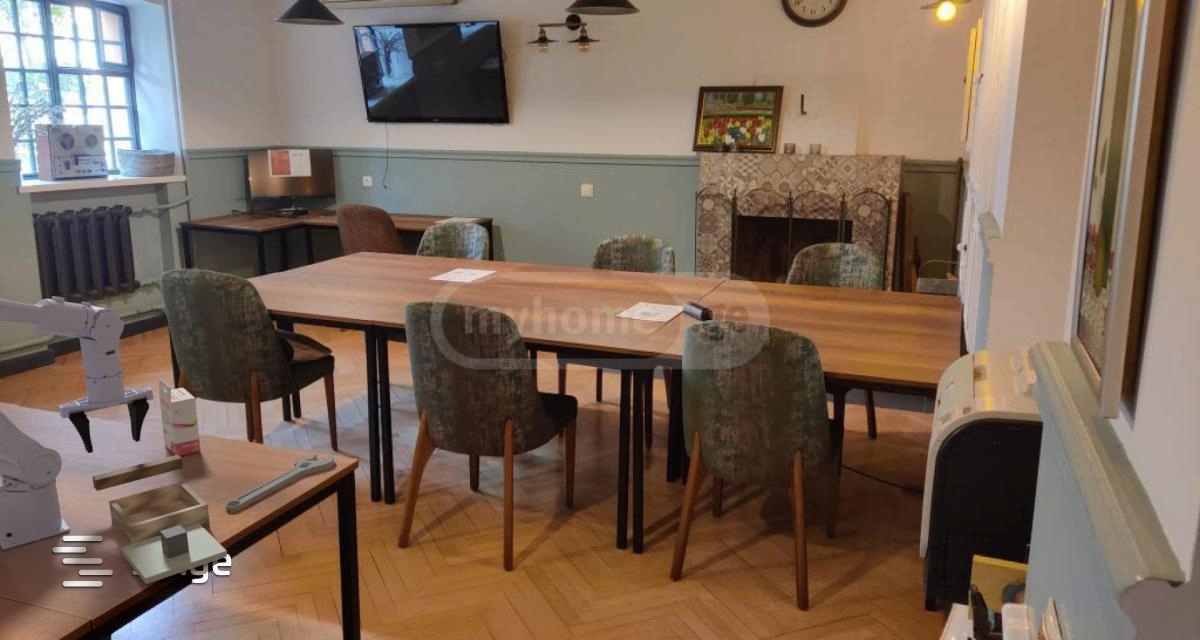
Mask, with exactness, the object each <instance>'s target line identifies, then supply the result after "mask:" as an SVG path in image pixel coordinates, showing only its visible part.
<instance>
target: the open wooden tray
mask: <svg viewBox="0 0 1200 640" xmlns="http://www.w3.org/2000/svg"><path fill="white" fill-rule="evenodd" d="M108 504H109V512H110V518H111V523H112V525H113V524H114V525H115V526H116V527H115V526H114V525H113V526H114V527H115V529H118V530H119V531H118V530H117V531H118V532H119V533H120V534H121V536H122V537H123V538H124V540H126V542H127V543H128V545H130V544H134V543H137V542H140V541H143V540H146V539H150V538H153V537H156V536H159V535H160V531H162V530H165V529H168V528H172V527H175V526H178V525H181V526H182V527H183V528H185V527H188V526H192V525H195V524H198V523H199V524H200V525H201V526H202V527H204V528H206V526H207V527H209V526H208V525H210V526H211V524H210V522H211V521H210V516H209V514H210V513H209V505H208V503H207V502H206V501H205V500H204V499H203V498H202V497H200V495H198V494H197V493H196V492H195V491H194V490H193V489H192V488H191V487H190V486H189V485H187V484H186V483H185V481H184V480H182V481H178V482H175V483H171V484H168V485H167V484H166V485H163V486H160V487H156V488H153V489H149V490H145V491H142V492H138V493H134V494H131V495H128V496H123V497H120V498H116V499H113V500H109V501H108Z"/></svg>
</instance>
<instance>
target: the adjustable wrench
mask: <svg viewBox="0 0 1200 640" xmlns="http://www.w3.org/2000/svg"><path fill="white" fill-rule="evenodd" d="M293 466H294V467H293V468H292V469H290V470H288V471H286V472H284V473H282V474H279V475H278V476H276V477H274V478H272V479H271V480H269V481H266V482H264V483H262V484H261V485H258V486H257V487H254V488H253V489H251V490H249V491H247V492H245V493H243V494H240V495H239V496H237V497H235V498H233V499H231V500H229V501H227V502H226V503H225V511H226V512H228V511H229V513H235V511H236V512H238V511H240V510H242V509H244V508H246V507H248V506H250V505H252V504H253V503H256V502H258V501H259V500H260V499H262V498H265V497H266V496H268V495H270V494H272V493H273V491H274V492H275V490H276V491H277V489H278V490H279V489H281V488H282V486H283V487H285V486H286V484H287V485H289V484H290V483H292V482H294V481H296V480H297V478H298V479H299V477H300V478H301V476H302V477H304V476H307V475H310V473H311V474H313V472H314V473H317V472H321V471H326V470H328V469H331V468H332V467H333V466H335V456H334V455H333V454H329V455H328V456H327V457H326V458H325V459H321V460H318V459H317V453H312V454H308V455H305V456H303V457H301V458H299V459H296V460H295V462H294V465H293ZM295 479H296V480H295ZM291 481H292V482H291ZM289 482H290V483H289ZM288 483H289V484H288ZM284 485H285V486H284ZM280 487H281V488H280Z"/></svg>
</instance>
